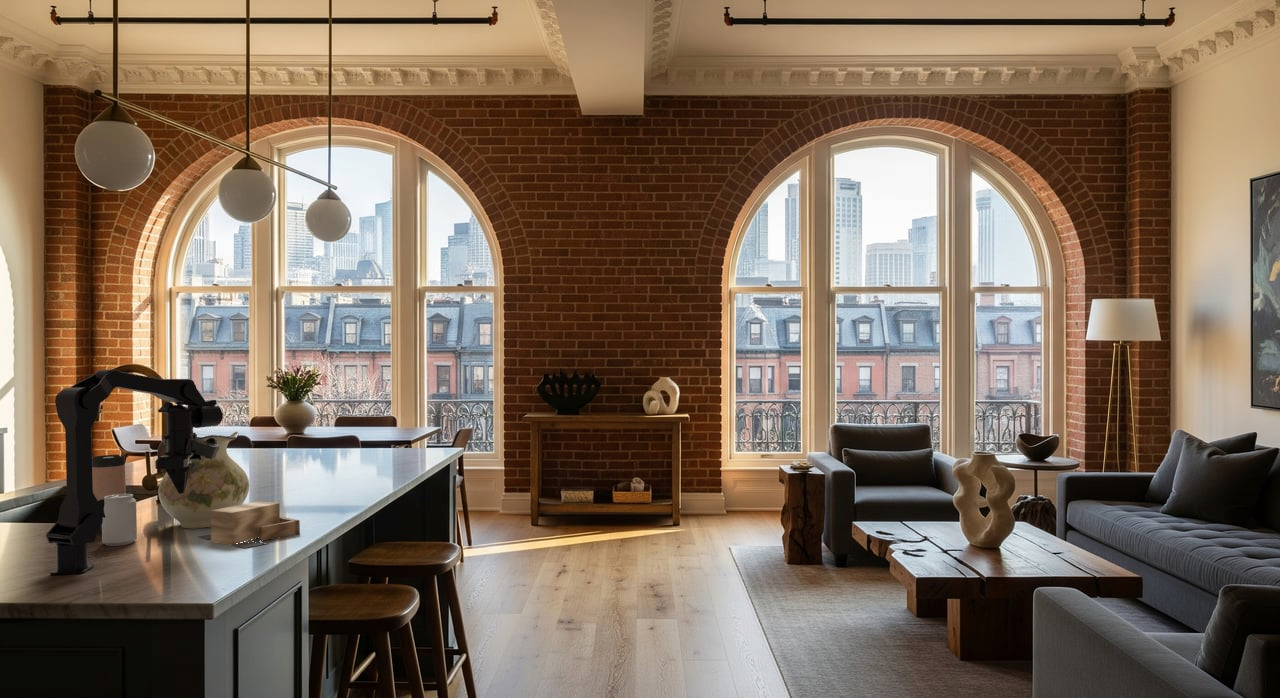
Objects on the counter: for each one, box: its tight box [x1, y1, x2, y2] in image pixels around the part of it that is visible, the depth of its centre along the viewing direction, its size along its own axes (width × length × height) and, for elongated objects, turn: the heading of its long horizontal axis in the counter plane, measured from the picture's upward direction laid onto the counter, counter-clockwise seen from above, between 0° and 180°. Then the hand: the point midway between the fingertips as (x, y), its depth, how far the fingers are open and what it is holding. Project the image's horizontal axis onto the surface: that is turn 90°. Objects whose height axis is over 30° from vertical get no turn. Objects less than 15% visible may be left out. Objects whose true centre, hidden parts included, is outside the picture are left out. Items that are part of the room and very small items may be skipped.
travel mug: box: [92, 454, 127, 535], centre depth 233 cm, size 8×8×20 cm
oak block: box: [210, 500, 281, 546], centre depth 222 cm, size 14×8×8 cm, turn 153°
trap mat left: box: [197, 533, 211, 541], centre depth 224 cm, size 6×6×1 cm
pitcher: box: [156, 431, 250, 529], centre depth 241 cm, size 22×24×25 cm
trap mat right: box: [231, 539, 267, 549], centre depth 214 cm, size 6×6×1 cm
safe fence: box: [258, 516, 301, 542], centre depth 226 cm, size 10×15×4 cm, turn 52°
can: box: [101, 493, 138, 547], centre depth 218 cm, size 8×8×12 cm
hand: (181, 493), depth 216 cm, fingers closed
